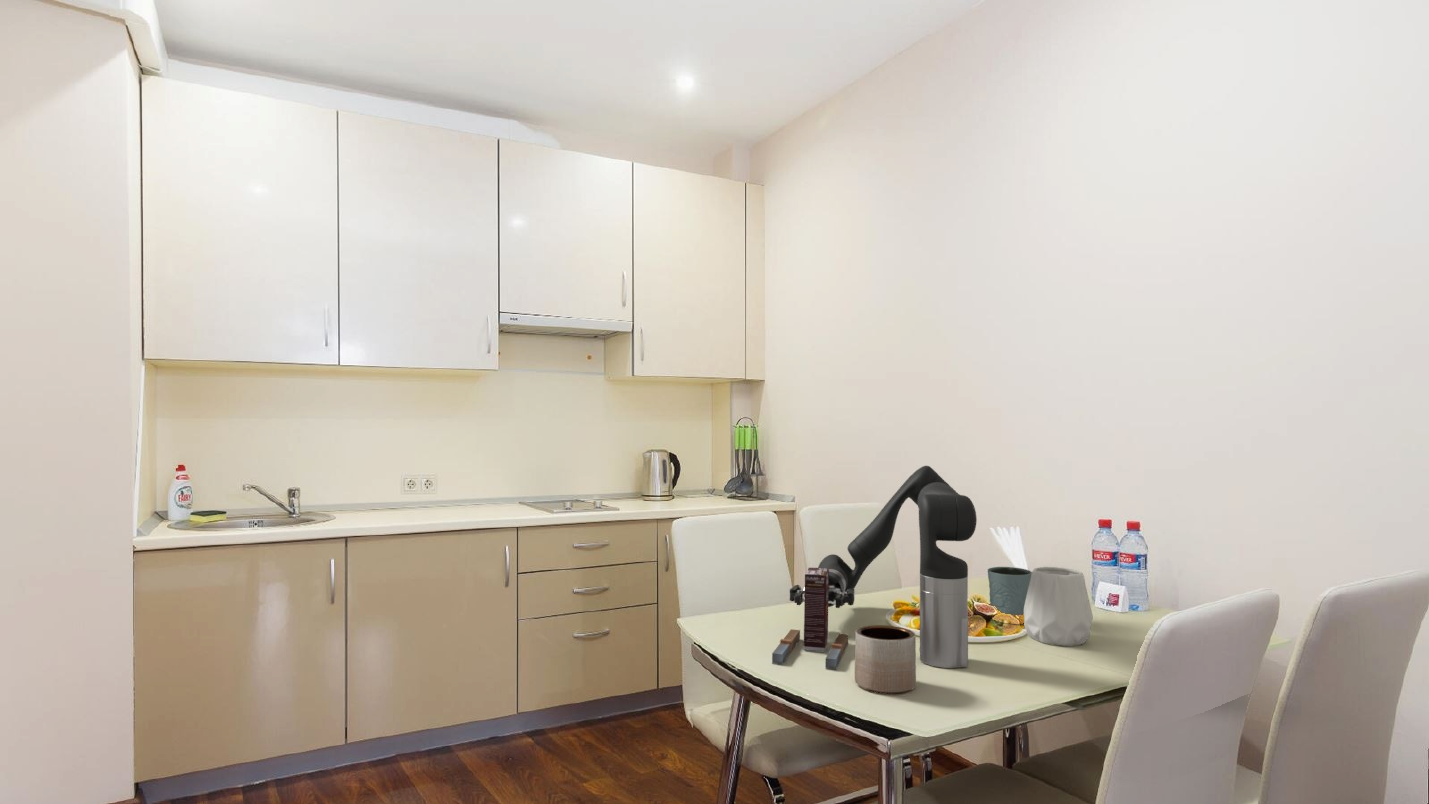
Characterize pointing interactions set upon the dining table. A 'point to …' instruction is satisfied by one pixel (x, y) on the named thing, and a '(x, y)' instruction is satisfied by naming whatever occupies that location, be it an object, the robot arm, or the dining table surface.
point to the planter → (885, 659)
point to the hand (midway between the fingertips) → (817, 601)
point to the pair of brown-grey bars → (792, 640)
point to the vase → (1057, 607)
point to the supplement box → (816, 609)
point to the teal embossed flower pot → (1009, 589)
